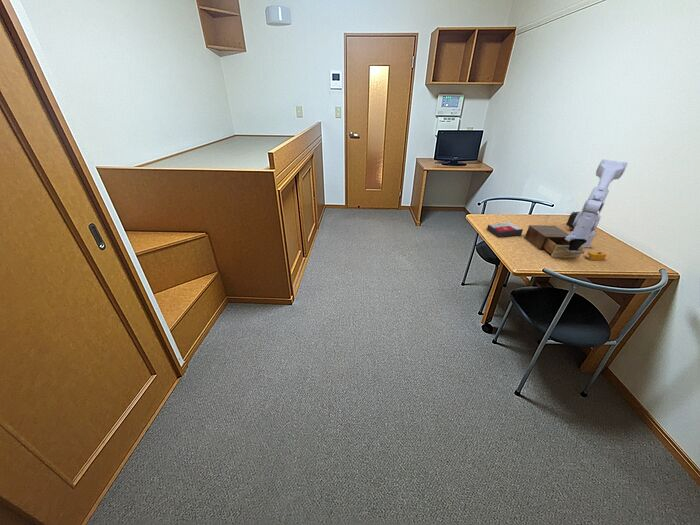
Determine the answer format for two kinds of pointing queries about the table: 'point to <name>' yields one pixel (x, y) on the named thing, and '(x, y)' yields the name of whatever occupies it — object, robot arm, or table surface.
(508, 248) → the table surface
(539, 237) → the cabinet
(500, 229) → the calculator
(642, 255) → the table surface
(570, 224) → the camera
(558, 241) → the drawer
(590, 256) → the box cutter
